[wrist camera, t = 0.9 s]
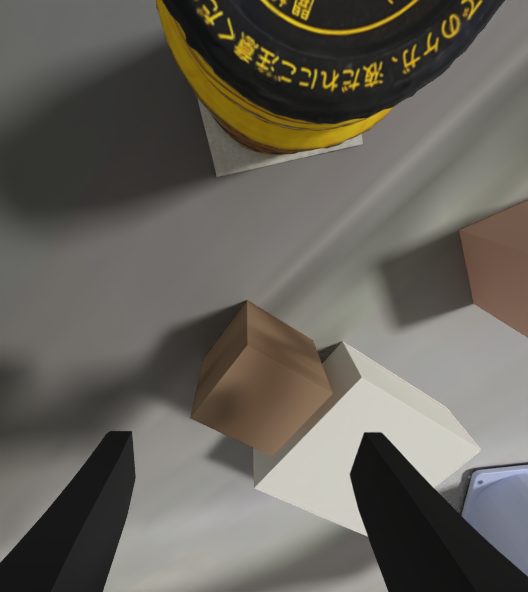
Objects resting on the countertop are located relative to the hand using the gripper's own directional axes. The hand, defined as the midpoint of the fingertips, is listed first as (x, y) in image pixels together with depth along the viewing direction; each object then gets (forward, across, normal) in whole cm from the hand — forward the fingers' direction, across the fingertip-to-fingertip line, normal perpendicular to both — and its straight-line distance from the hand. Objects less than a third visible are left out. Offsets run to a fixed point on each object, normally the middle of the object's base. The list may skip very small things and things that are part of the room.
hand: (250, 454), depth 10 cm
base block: (+9, -9, +8) cm, 15 cm away
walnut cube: (+10, -1, +3) cm, 10 cm away
